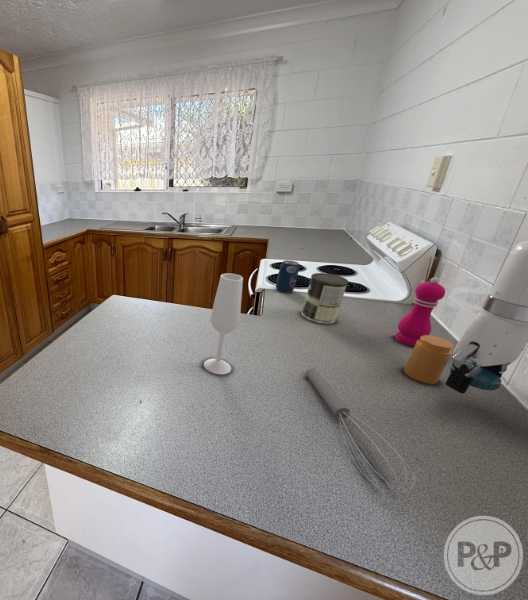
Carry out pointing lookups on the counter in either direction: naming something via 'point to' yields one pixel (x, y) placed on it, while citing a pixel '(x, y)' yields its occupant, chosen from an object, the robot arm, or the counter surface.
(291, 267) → the soda can
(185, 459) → the counter surface
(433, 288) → the pepper mill
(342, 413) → the kitchen whisk
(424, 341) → the jar
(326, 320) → the coffee can
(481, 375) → the lid
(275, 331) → the counter surface
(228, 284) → the champagne flute
